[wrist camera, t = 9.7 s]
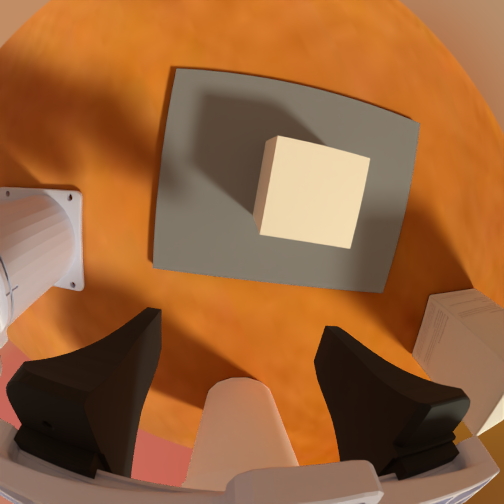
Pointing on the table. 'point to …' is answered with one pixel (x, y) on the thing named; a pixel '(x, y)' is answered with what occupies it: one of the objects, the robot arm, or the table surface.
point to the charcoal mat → (248, 172)
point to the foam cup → (237, 435)
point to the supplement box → (466, 352)
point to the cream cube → (309, 192)
